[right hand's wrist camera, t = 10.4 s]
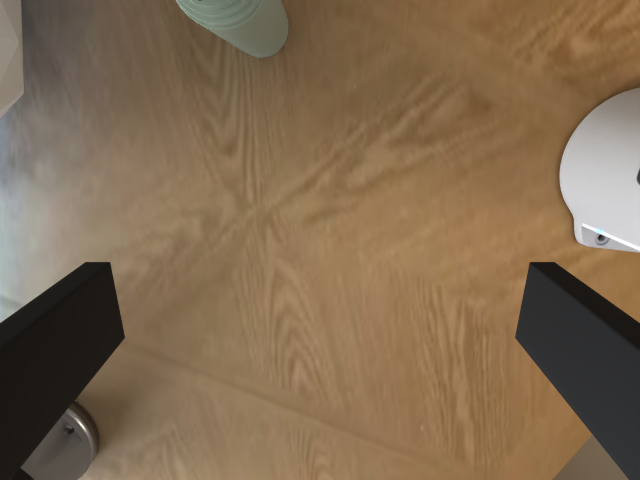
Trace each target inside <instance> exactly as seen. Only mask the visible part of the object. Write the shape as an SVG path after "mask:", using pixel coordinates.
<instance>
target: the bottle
mask: <svg viewBox="0 0 640 480" xmlns="http://www.w3.org/2000/svg"><path fill="white" fill-rule="evenodd" d="M176 2H177V3H178V5H179V6H180V8H181V9H182V10H183V11H184V13H185V14H186V15H187V16H188V17H190V18H191V19H192V20H193V21H195V22H196V23H198V24H200V25H201V26H203V27H205V28H206V29H208V30H209V31H211V32H213V33H214V34H216V35H218V36H219V37H221V38H222V39H224V40H226V41H227V42H229V43H230V44H232V45H234V46H235V47H237V48H239V49H240V50H242V51H243V52H245V53H247V54H248V55H250V56H253V57H257V58H265V57H269V56H272V55H274V54H275V53H277V52H278V51H279V50H280V49H281V48H282V47H283V45H284V44H285V42H286V40H287V37H288V32H289V22H288V17H287V14H286V11H285V9H284V6H283V3H282V0H201V1H199V0H176Z"/></svg>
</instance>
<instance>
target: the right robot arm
mask: <svg viewBox="0 0 640 480" xmlns="http://www.w3.org/2000/svg"><path fill="white" fill-rule="evenodd" d="M124 338H125V336H124V331H123V325H122V320H121V315H120V310H119V305H118V300H117V295H116V290H115V285H114V280H113V275H112V269H111V264H110V262H85V263H84V264H82V265H81V266H80V267H78V268H77V269H75V270H74V271H73V272H71V273H70V274H68V275H67V276H66V277H64V278H63V279H61V280H60V281H59V282H57V283H56V284H54V285H53V286H52V287H50V288H49V289H47V290H46V291H45V292H43V293H42V294H40V295H39V296H38V297H36V298H35V299H33V300H32V301H31V302H29V303H28V304H26V305H25V306H24V307H22V308H21V309H19V310H18V311H17V312H15V313H14V314H12V315H11V316H10V317H8V318H7V319H5V320H4V321H3V322H1V323H0V480H77V479H79V478H80V477H81V476H82V475H83V474H84V473H85V472H86V470H87V469H88V467H89V466H90V464H91V462H92V461H93V459H94V458H95V456H96V454H97V451H98V447H99V436H98V431H97V428H96V426H95V424H94V422H93V420H92V419H91V417H90V416H89V415H88V414H87V412H86V411H85V410H84V409H83V408H82V407H80V406H79V405H78V404H77V403H75V402H74V400H75V399H76V398H77V397H78V395H79V394H80V393H81V392H82V390H83V389H84V388H85V387H86V385H87V384H88V383H89V382H90V380H91V379H92V378H93V377H94V376H95V374H96V373H97V372H98V371H99V369H100V368H101V367H102V366H103V364H104V363H105V362H106V361H107V359H108V358H109V357H110V356H111V354H112V353H113V352H114V351H115V349H116V348H117V347H118V346H119V344H120V343H121V342H122V341H123V339H124ZM515 338H516V339H517V341H518V342H519V343H520V344H521V346H522V347H523V348H524V349H525V351H526V352H527V353H528V354H529V356H530V357H531V358H532V359H533V361H534V362H535V363H536V364H537V366H538V367H539V368H540V369H541V371H542V372H543V373H544V374H545V376H546V377H547V378H548V379H549V380H550V382H551V383H552V384H553V385H554V387H555V388H556V389H557V390H558V392H559V393H560V394H561V395H562V397H563V398H564V399H565V400H566V402H567V403H568V404H569V405H570V407H571V408H572V409H573V410H574V412H575V413H576V414H577V415H578V417H579V418H580V419H581V420H582V422H583V423H584V424H585V425H586V427H587V428H588V429H589V430H590V432H591V433H592V434H593V435H594V437H595V438H596V439H597V440H598V442H599V443H600V444H601V445H602V446H603V448H604V449H605V450H606V451H607V453H608V454H609V455H610V456H611V458H612V459H613V460H614V461H615V463H616V464H617V465H618V466H619V468H620V469H621V470H622V471H623V473H624V474H625V475H626V476H627V478H628V479H629V480H640V323H639V322H637V321H636V320H635V319H633V318H632V317H630V316H629V315H628V314H626V313H625V312H623V311H622V310H621V309H619V308H618V307H616V306H615V305H614V304H612V303H611V302H609V301H608V300H607V299H605V298H604V297H602V296H601V295H600V294H598V293H597V292H595V291H594V290H593V289H591V288H590V287H588V286H587V285H586V284H584V283H583V282H581V281H580V280H579V279H577V278H576V277H574V276H573V275H572V274H570V273H569V272H567V271H566V270H565V269H563V268H562V267H560V266H559V265H558V264H556V263H555V262H530V264H529V269H528V274H527V280H526V285H525V290H524V295H523V300H522V305H521V310H520V315H519V320H518V325H517V331H516V336H515Z"/></svg>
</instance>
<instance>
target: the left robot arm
mask: <svg viewBox="0 0 640 480" xmlns="http://www.w3.org/2000/svg"><path fill="white" fill-rule="evenodd" d="M560 187H561V192H562V195H563V198H564V200H565V203H566V204H567V206H568V208H569V209H570V211H571V213H572V215H573V218H574V231H575V237H576V240H577V241H578V242H579V243H580V244H583V245H585V246H589V247H597V248H605V249H614V250H622V251H630V252H639V253H640V87H638V88H634V89H631V90H627V91H624V92H622V93H619V94H617V95H615V96H613V97H611V98H609V99H608V100H606V101H604V102H603V103H601V104H600V105H599V106H597V107H596V108H595V109H594V110H592V111H591V112H590V113H589V114H588V115H587V116H586V117H585V118H584V119H583V120H582V122H581V123H580V124H579V125H578V127H577V128H576V129H575V131H574V133H573V134H572V136H571V138H570V139H569V141H568V143H567V146H566V148H565V150H564V153H563V157H562V160H561V165H560ZM600 234H602V235H601V237H600V238H598V236H599V235H600Z"/></svg>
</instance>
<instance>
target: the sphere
mask: <svg viewBox="0 0 640 480" xmlns="http://www.w3.org/2000/svg"><path fill="white" fill-rule="evenodd" d="M23 94H24V72H23V42H22V11H21V0H0V118H1V117H2V116H3V115H4V114H5V113H6V112H7V111H8V109H9V108H10V107H11V106H12V105H13V104H14V103H15V102H16V101H17V100H18V99H19V98H20V97H21V96H22V95H23Z"/></svg>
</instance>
